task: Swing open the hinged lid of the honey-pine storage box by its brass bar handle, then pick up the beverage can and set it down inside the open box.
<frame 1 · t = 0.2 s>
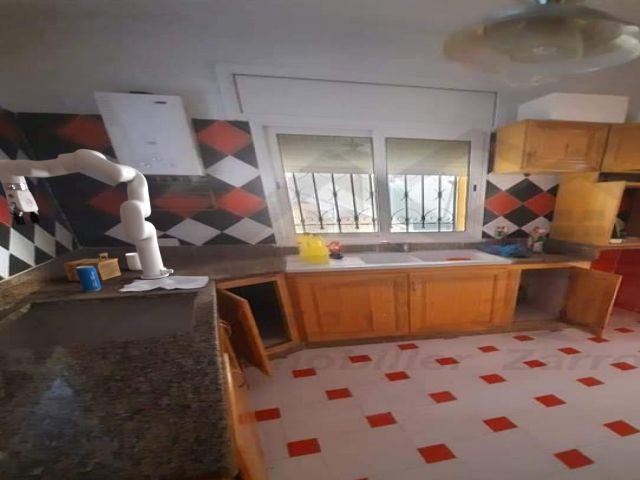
hand: (29, 223, 157), 31 cm above the counter, tool pointing down, fingers open, 9 cm apart
lid: (90, 257, 175), point 11 cm above the counter, hinge at 0.0°
cup: (139, 269, 200), on the counter
chest: (96, 277, 178), on the counter
beverage can: (92, 290, 156), on the counter
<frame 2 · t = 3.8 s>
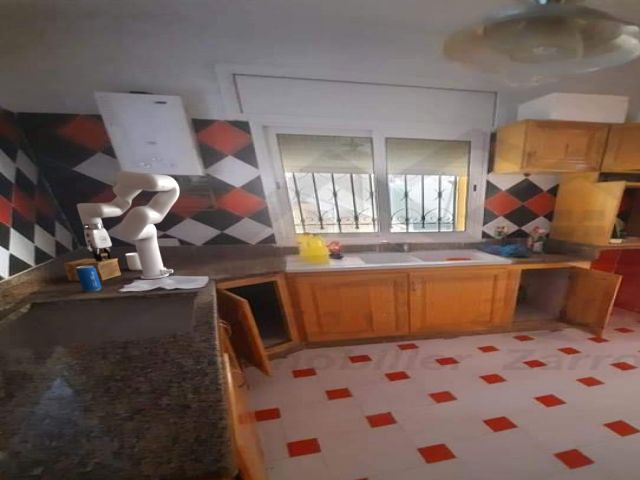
hand: (103, 259, 176), 10 cm above the counter, tool pointing down, fingers closed on lid, 5 cm apart
lid: (90, 257, 175), point 11 cm above the counter, hinge at 0.0°, touching gripper
everything else where it was.
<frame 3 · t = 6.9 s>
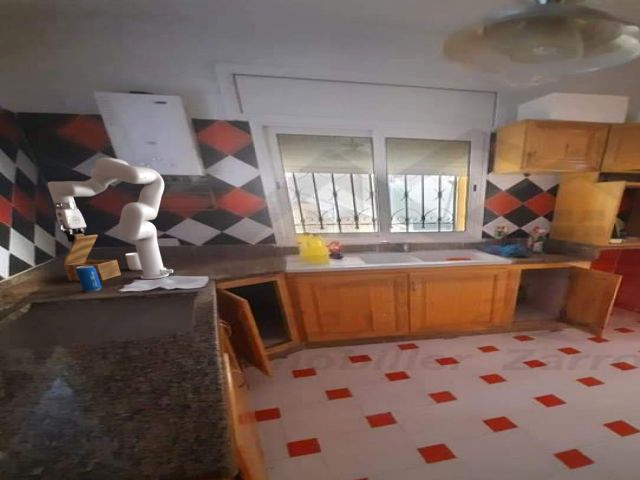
hand: (77, 240, 172), 21 cm above the counter, tool pointing down, fingers closed on lid, 5 cm apart
lid: (76, 247, 173), point 17 cm above the counter, hinge at 53.2°, touching gripper
everything else where it was.
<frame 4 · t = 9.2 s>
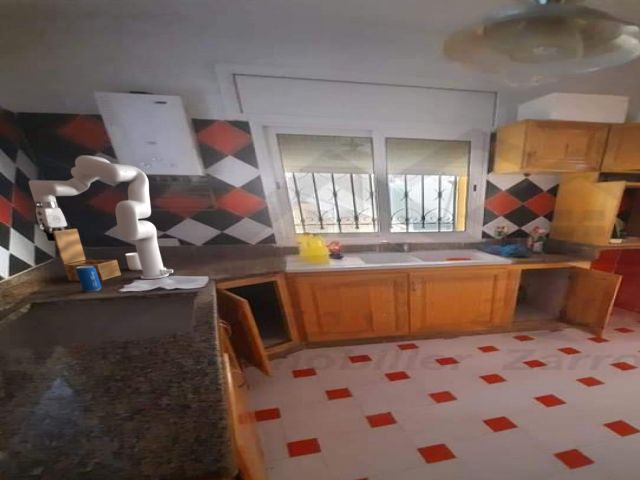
hand: (57, 239, 170), 22 cm above the counter, tool pointing down, fingers closed on lid, 5 cm apart
lid: (65, 246, 172), point 18 cm above the counter, hinge at 87.6°, touching gripper
everything else where it was.
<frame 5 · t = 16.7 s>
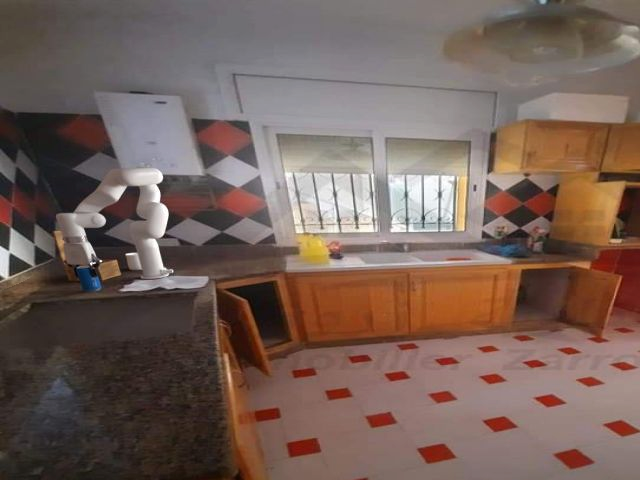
hand: (88, 276, 154), 7 cm above the counter, tool pointing down, fingers closed on beverage can, 6 cm apart
lid: (65, 246, 172), point 18 cm above the counter, hinge at 87.7°
beverage can: (92, 290, 156), on the counter, touching gripper
everything else where it was.
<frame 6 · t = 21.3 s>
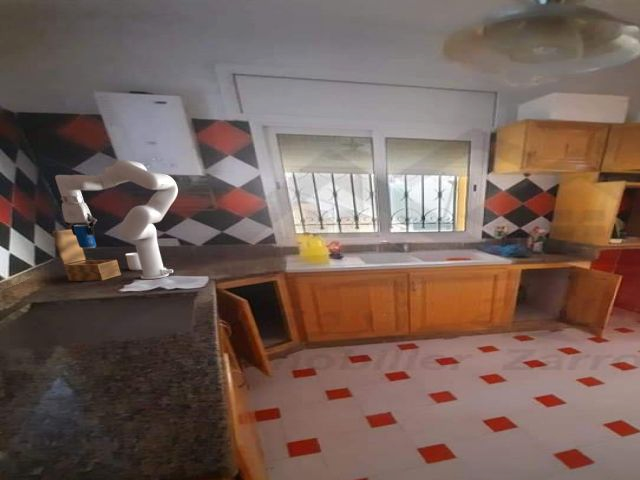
hand: (84, 234, 169), 24 cm above the counter, tool pointing down, fingers closed on beverage can, 6 cm apart
beverage can: (88, 248, 172), point 17 cm above the counter, touching gripper
everything else where it was.
when the fingers open (8 cm above the counter, at t = 25.8 s): beverage can stays where it is, resting on chest.
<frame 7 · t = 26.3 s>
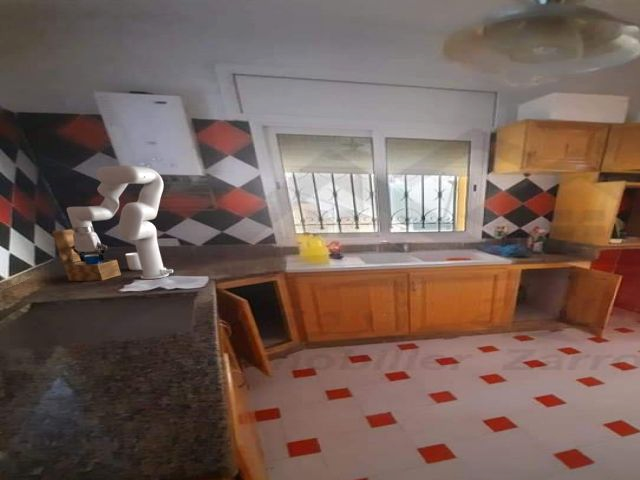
hand: (94, 261, 176), 9 cm above the counter, tool pointing down, fingers open, 9 cm apart
beverage can: (98, 276, 178), point 1 cm above the counter, touching chest
everything else where it was.
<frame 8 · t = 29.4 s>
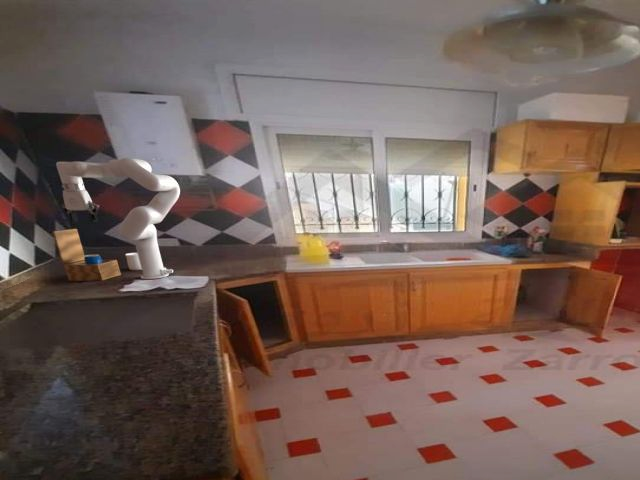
hand: (85, 221, 168), 31 cm above the counter, tool pointing down, fingers open, 9 cm apart
nothing on the counter moved.
at the end: lid at +88° (first picture: +0°); beverage can inside the target area in the chest (1.5 cm from its centre), point 0.6 cm above the chest's base; beverage can tilted 0° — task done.
